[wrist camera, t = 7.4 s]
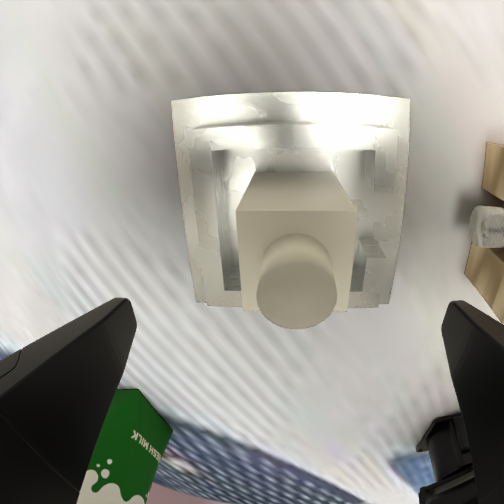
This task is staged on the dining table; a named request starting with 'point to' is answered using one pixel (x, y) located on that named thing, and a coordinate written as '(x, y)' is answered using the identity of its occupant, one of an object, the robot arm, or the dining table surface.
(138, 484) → the milk carton
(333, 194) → the spigot
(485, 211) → the pin
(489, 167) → the mount
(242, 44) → the dining table surface
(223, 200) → the socket
